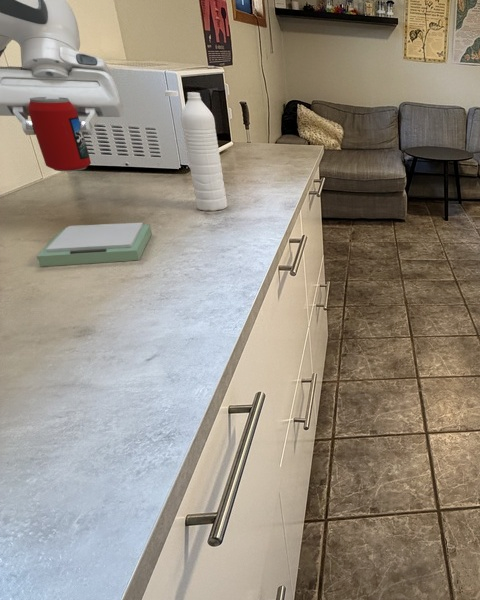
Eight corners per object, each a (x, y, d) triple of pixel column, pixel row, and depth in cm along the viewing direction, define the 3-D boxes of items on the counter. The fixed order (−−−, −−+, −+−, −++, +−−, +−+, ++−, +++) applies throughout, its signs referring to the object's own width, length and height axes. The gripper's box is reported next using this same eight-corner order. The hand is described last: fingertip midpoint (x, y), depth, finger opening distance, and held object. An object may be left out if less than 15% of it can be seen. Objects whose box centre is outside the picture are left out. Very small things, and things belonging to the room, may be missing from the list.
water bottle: (229, 203, 114) (213, 91, 103) (224, 211, 109) (206, 94, 97) (190, 203, 113) (169, 89, 101) (183, 211, 107) (159, 91, 95)
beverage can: (99, 168, 89) (81, 100, 83) (58, 174, 83) (35, 101, 78) (81, 162, 91) (61, 96, 86) (39, 168, 86) (16, 97, 81)
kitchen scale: (40, 266, 77) (35, 252, 76) (66, 237, 89) (62, 225, 88) (139, 260, 82) (135, 246, 81) (151, 233, 94) (149, 221, 93)
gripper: (-30, 51, 80) (-28, 120, 77) (113, 59, 89) (121, 122, 85) (-12, 78, 86) (-9, 144, 82) (122, 83, 94) (129, 143, 91)
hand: (59, 132), depth 84 cm, fingers closed on beverage can, 7 cm apart
